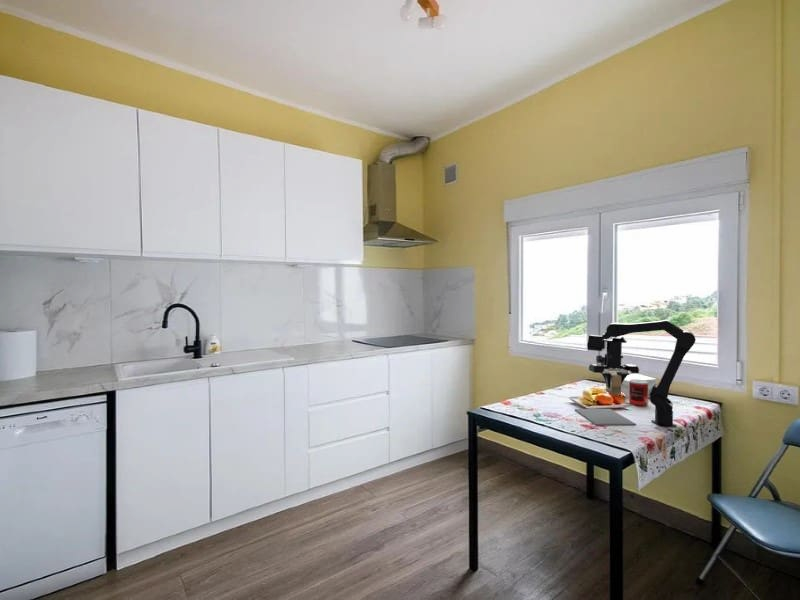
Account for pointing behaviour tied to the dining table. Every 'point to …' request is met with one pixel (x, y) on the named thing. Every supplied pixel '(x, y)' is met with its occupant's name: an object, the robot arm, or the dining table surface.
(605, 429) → the dining table surface
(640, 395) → the canned food
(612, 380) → the block
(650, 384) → the supplement box
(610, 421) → the mat
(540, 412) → the dining table surface
